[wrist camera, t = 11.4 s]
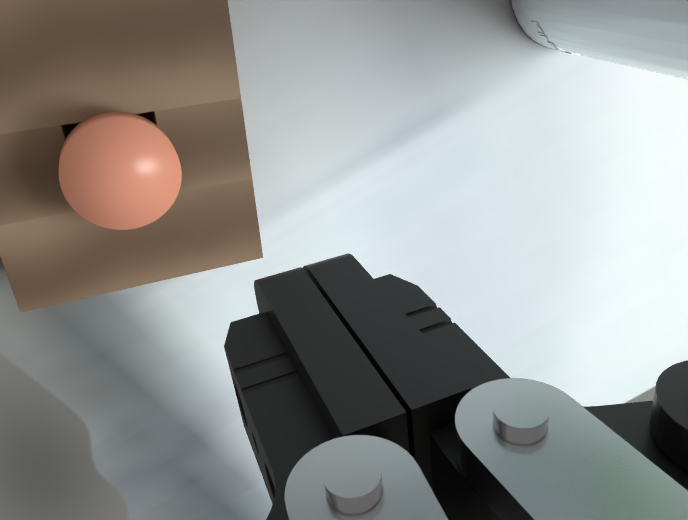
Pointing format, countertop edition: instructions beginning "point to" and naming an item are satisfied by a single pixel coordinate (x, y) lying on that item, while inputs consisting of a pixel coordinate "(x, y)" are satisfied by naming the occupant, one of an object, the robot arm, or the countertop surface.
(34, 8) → the button panel
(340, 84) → the countertop surface
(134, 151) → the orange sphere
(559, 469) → the robot arm
